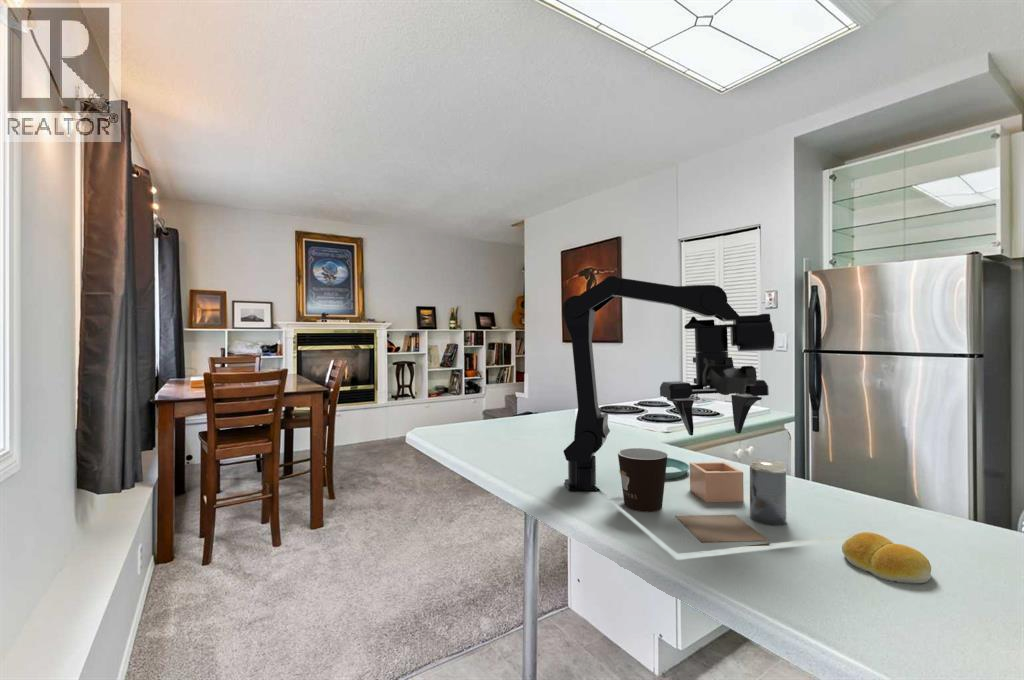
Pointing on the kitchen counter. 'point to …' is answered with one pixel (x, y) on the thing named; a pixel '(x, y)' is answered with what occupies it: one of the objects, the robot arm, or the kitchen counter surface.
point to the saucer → (678, 465)
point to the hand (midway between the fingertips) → (714, 434)
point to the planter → (716, 482)
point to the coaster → (721, 529)
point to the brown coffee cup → (642, 478)
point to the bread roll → (886, 558)
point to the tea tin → (768, 492)
